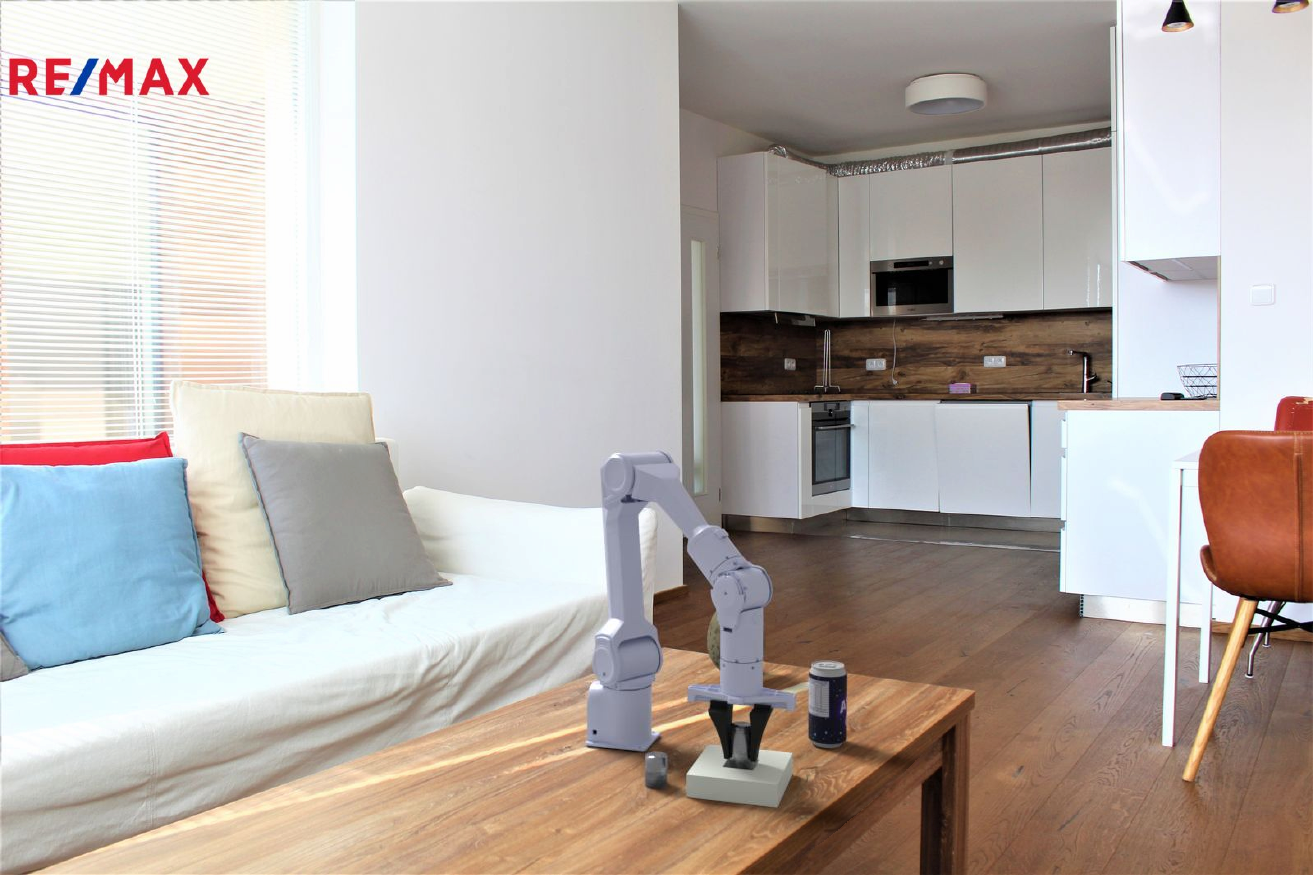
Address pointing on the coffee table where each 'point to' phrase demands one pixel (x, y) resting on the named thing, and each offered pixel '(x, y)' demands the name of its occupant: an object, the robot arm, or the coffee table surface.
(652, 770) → the short pin
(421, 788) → the coffee table surface
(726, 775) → the hole block
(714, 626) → the decorative egg
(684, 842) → the coffee table surface
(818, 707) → the beverage can
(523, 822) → the coffee table surface
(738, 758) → the long pin
